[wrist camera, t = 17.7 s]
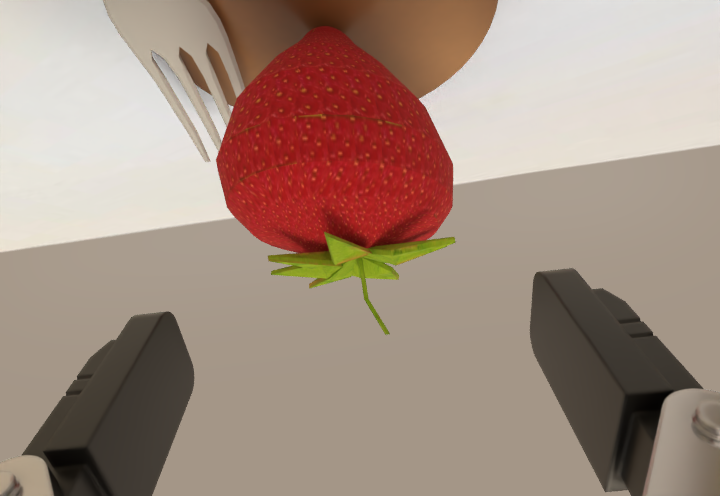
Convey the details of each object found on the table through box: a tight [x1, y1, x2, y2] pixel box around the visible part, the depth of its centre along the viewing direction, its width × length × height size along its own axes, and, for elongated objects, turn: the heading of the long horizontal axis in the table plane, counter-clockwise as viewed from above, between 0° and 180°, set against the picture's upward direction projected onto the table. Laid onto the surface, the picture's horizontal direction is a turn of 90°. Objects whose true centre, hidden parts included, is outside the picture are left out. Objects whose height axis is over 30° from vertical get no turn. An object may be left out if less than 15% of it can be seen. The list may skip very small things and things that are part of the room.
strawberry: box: [216, 26, 455, 334], centre depth 14 cm, size 6×8×10 cm
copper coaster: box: [179, 0, 498, 106], centre depth 16 cm, size 11×11×1 cm
